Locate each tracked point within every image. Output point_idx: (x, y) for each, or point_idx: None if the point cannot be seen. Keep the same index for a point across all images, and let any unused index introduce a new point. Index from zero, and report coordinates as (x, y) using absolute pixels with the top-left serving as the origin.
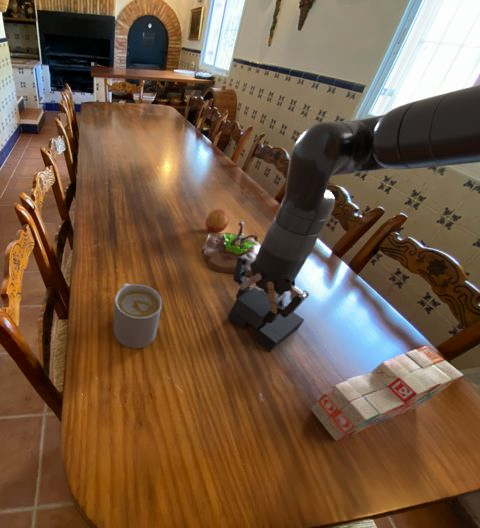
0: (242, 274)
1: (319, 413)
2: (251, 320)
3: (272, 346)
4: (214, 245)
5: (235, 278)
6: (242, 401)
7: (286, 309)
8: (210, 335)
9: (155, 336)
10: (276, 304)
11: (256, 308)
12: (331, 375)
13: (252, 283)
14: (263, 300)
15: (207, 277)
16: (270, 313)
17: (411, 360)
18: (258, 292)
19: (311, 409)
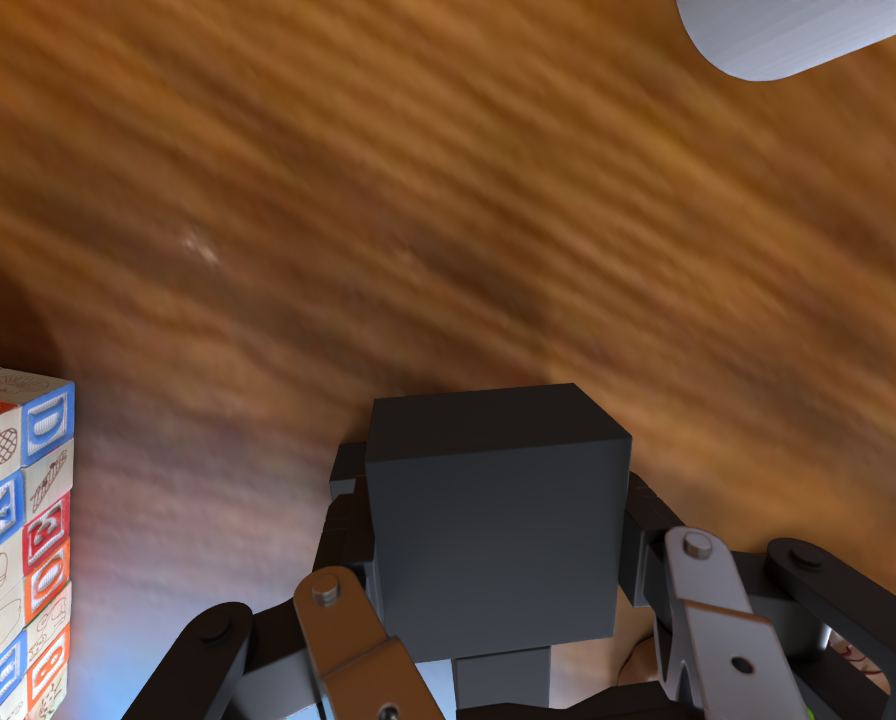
0: (810, 662)
1: (17, 383)
2: (425, 408)
3: (337, 463)
4: (853, 650)
5: (826, 568)
6: (216, 153)
7: (177, 717)
8: (532, 287)
9: (686, 24)
10: (318, 670)
11: (457, 491)
12: (158, 560)
13: (709, 678)
14: (484, 599)
15: (746, 505)
16: (350, 547)
17: None
18: (560, 624)
19: (67, 380)
